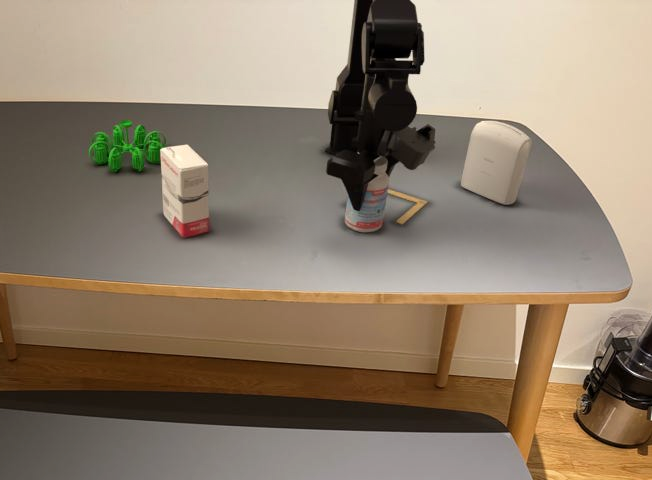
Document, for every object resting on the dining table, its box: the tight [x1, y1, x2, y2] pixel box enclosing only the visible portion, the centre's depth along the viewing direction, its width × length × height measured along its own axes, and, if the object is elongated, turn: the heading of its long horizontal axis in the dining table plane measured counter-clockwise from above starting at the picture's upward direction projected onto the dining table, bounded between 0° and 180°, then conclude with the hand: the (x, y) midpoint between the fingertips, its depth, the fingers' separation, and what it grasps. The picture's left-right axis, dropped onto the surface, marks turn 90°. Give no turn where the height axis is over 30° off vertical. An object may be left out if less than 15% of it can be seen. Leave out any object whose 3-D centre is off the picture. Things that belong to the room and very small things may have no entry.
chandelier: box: [88, 119, 167, 173], centre depth 137 cm, size 15×15×7 cm
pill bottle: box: [344, 157, 390, 233], centre depth 117 cm, size 6×6×11 cm
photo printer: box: [460, 120, 532, 206], centre depth 125 cm, size 10×4×12 cm, turn 39°
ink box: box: [160, 143, 210, 239], centre depth 117 cm, size 8×5×12 cm, turn 26°
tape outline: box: [387, 188, 429, 226], centre depth 125 cm, size 10×9×1 cm
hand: (366, 203), depth 118 cm, fingers closed on pill bottle, 6 cm apart
